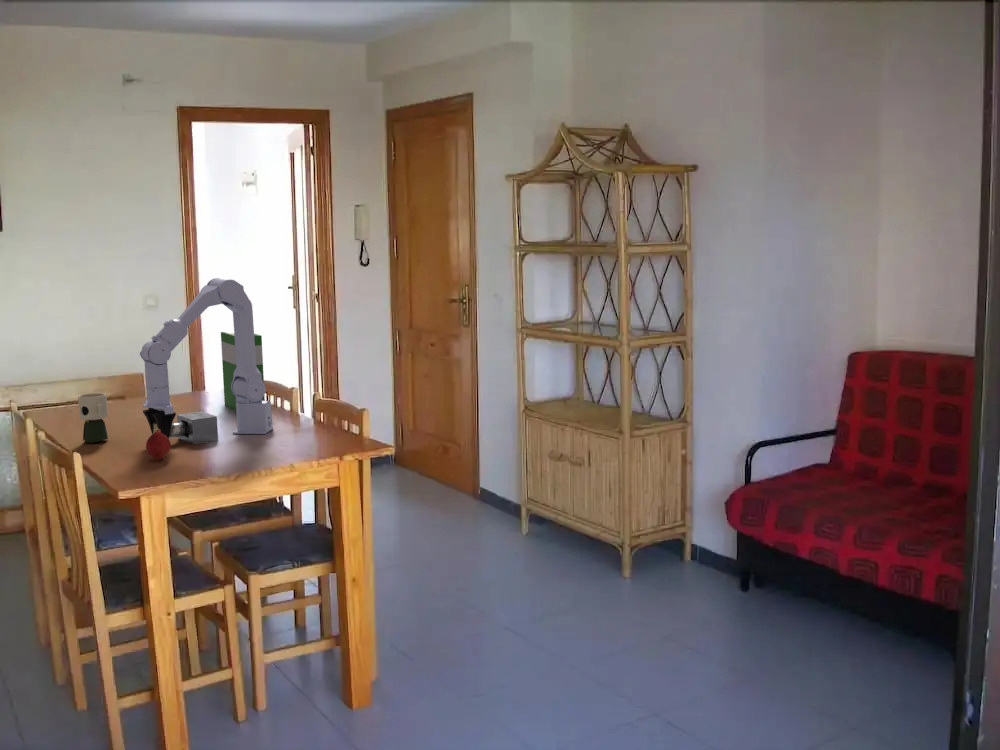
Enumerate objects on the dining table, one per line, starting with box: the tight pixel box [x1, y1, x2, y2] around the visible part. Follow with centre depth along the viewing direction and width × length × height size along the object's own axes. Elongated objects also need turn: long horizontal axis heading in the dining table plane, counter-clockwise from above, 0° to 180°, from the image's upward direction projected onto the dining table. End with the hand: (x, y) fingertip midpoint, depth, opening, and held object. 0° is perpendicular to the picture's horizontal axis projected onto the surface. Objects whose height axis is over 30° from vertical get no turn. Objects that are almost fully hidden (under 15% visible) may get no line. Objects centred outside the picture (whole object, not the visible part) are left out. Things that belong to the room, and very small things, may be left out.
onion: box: [145, 429, 172, 461], centre depth 245 cm, size 6×6×8 cm
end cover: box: [152, 422, 189, 440], centre depth 263 cm, size 8×5×5 cm, turn 130°
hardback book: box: [220, 331, 266, 412], centre depth 311 cm, size 18×7×24 cm, turn 33°
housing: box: [176, 410, 219, 445], centre depth 267 cm, size 7×10×7 cm
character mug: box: [77, 392, 109, 444], centre depth 266 cm, size 11×7×13 cm, turn 43°
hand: (160, 436), depth 261 cm, fingers closed on end cover, 5 cm apart
